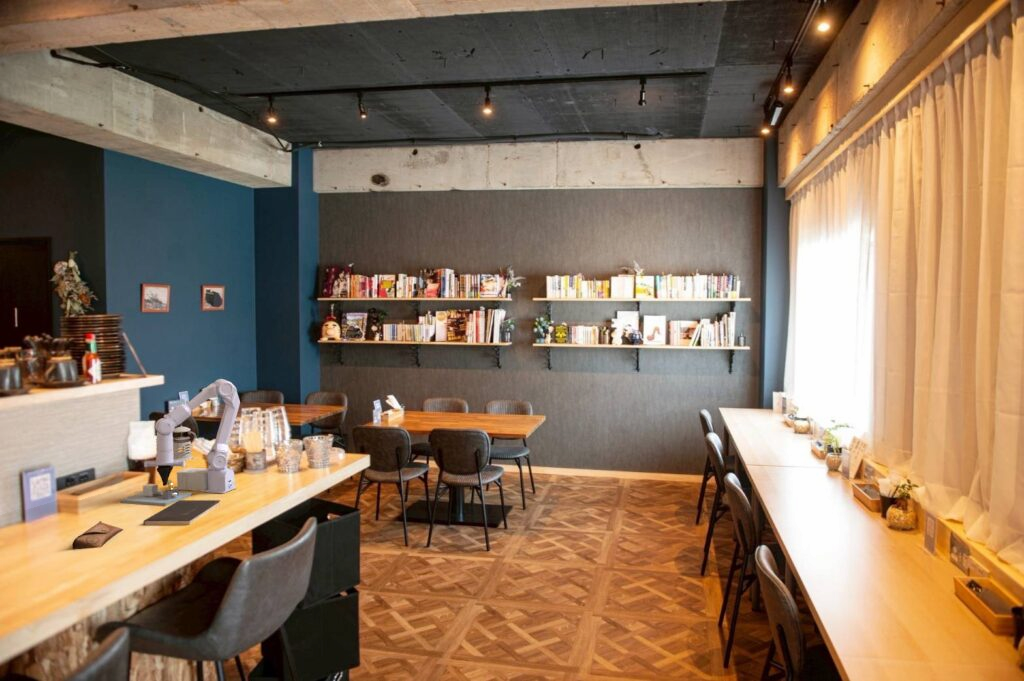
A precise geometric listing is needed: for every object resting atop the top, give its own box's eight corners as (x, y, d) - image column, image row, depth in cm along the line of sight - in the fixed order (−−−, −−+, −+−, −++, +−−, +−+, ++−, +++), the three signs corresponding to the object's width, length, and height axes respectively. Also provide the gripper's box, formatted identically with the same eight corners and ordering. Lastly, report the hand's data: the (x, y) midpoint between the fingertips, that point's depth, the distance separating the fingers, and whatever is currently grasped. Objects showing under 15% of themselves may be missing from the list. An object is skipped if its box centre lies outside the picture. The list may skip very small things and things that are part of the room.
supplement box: (189, 484, 285) (216, 486, 283) (176, 489, 278) (204, 491, 275) (188, 467, 285) (216, 468, 282) (176, 471, 278) (204, 473, 275)
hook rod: (179, 496, 265) (179, 485, 264) (173, 498, 262) (173, 487, 261) (149, 494, 268) (148, 483, 268) (143, 496, 265) (142, 485, 265)
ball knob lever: (168, 490, 262) (168, 483, 262) (167, 486, 268) (166, 480, 268) (173, 489, 263) (173, 483, 263) (172, 485, 269) (172, 479, 269)
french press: (167, 458, 333) (165, 406, 332) (191, 454, 342) (189, 404, 341) (176, 461, 327) (174, 408, 326) (201, 457, 336) (199, 405, 334)
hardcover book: (220, 506, 257) (220, 500, 257) (190, 526, 234) (190, 519, 234) (177, 506, 258) (177, 500, 257) (143, 526, 235) (143, 519, 234)
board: (191, 495, 270) (191, 492, 270) (165, 505, 256) (165, 503, 256) (147, 492, 274) (147, 489, 274) (120, 502, 261) (119, 499, 261)
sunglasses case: (102, 547, 213) (89, 529, 212) (81, 560, 212) (68, 542, 211) (125, 528, 231) (113, 512, 230) (105, 540, 230) (93, 523, 229)
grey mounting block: (178, 495, 266) (178, 488, 266) (168, 499, 261) (168, 491, 261) (173, 495, 267) (173, 487, 267) (162, 499, 261) (162, 491, 261)
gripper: (188, 447, 270) (188, 482, 270) (149, 447, 269) (150, 482, 269) (181, 451, 263) (181, 487, 263) (141, 451, 262) (141, 487, 262)
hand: (165, 485), depth 266 cm, fingers closed
